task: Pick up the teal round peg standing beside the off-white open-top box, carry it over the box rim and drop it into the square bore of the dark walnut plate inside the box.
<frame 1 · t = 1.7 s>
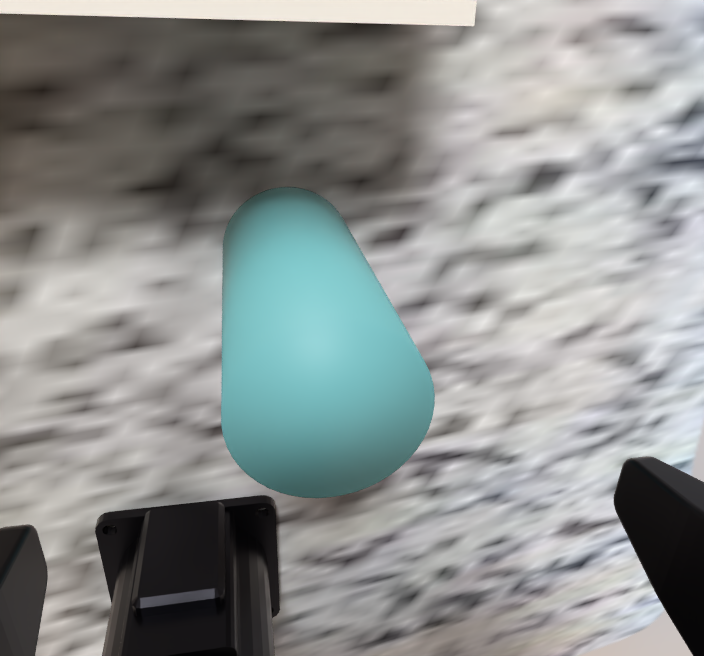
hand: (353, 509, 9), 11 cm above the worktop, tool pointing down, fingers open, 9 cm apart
peg: (287, 250, 19), on the worktop
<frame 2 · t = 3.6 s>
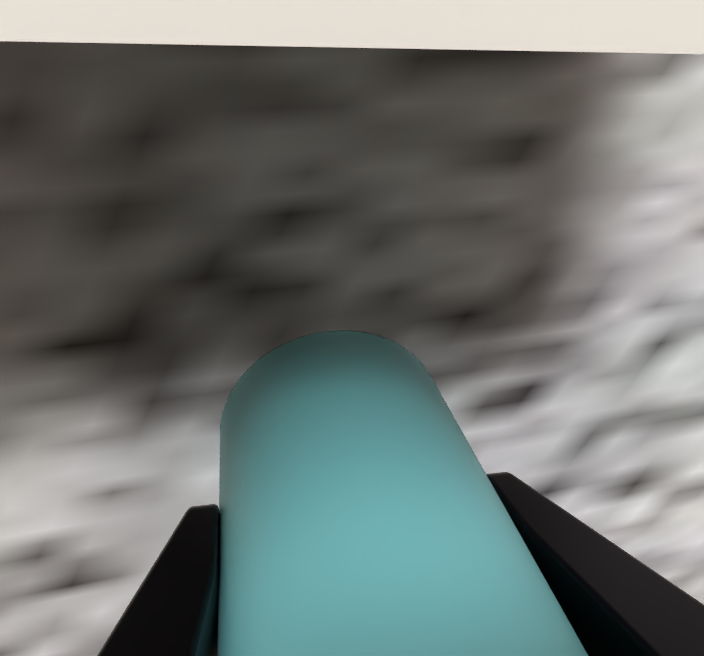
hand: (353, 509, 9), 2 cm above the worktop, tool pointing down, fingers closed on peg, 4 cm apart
peg: (333, 428, 11), on the worktop, touching gripper
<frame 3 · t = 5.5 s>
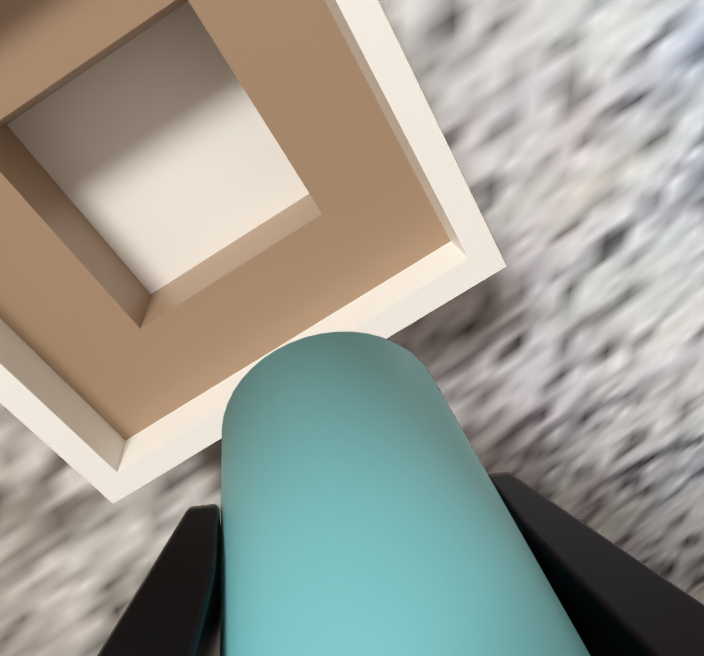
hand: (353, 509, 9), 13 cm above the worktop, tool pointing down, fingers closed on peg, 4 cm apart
peg: (334, 429, 11), point 11 cm above the worktop, touching gripper
peg box: (171, 154, 18), on the worktop
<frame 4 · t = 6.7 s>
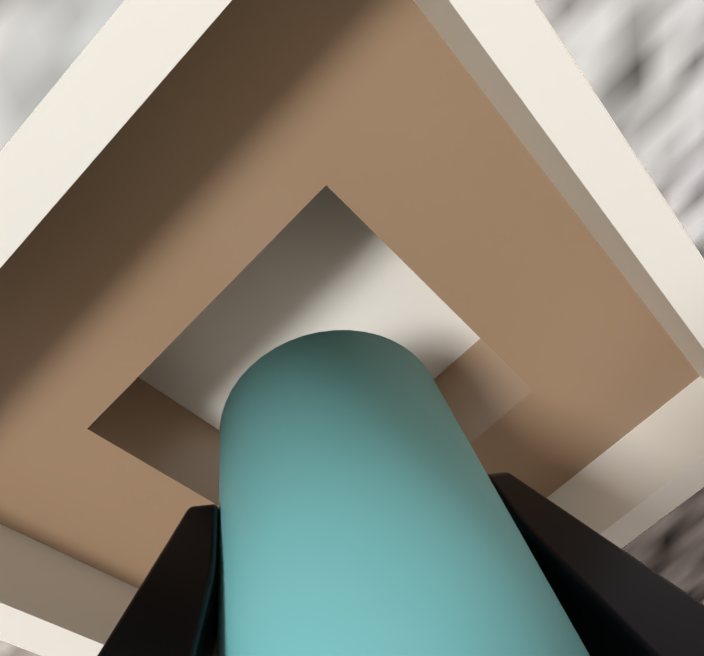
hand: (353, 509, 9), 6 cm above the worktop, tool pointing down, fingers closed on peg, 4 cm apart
peg: (333, 428, 11), point 4 cm above the worktop, touching gripper
peg box: (303, 325, 15), on the worktop
when the fingers open (4 cm above the worktop, at t = 7.7 s): peg drops 1 cm, resting on peg box.
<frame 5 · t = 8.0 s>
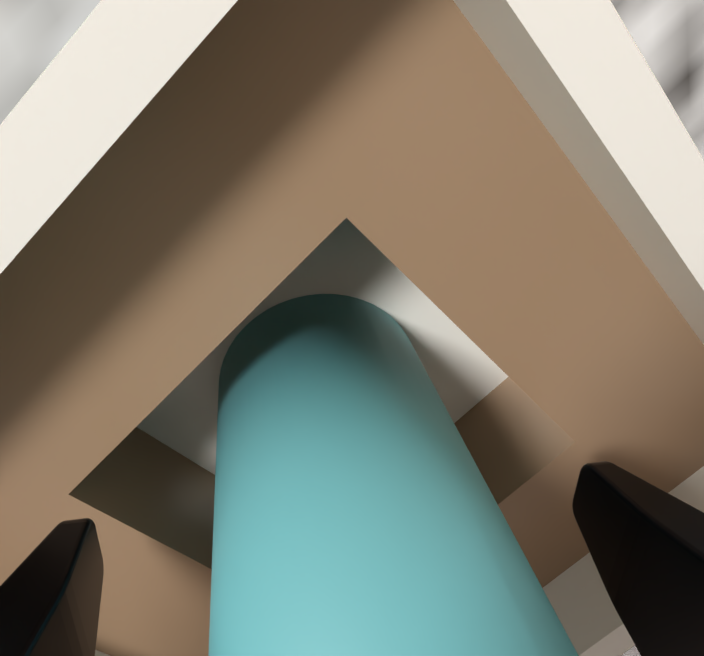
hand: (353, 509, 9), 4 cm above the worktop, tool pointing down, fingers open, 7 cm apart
peg: (320, 384, 12), point 1 cm above the worktop, touching peg box
peg box: (313, 360, 13), on the worktop
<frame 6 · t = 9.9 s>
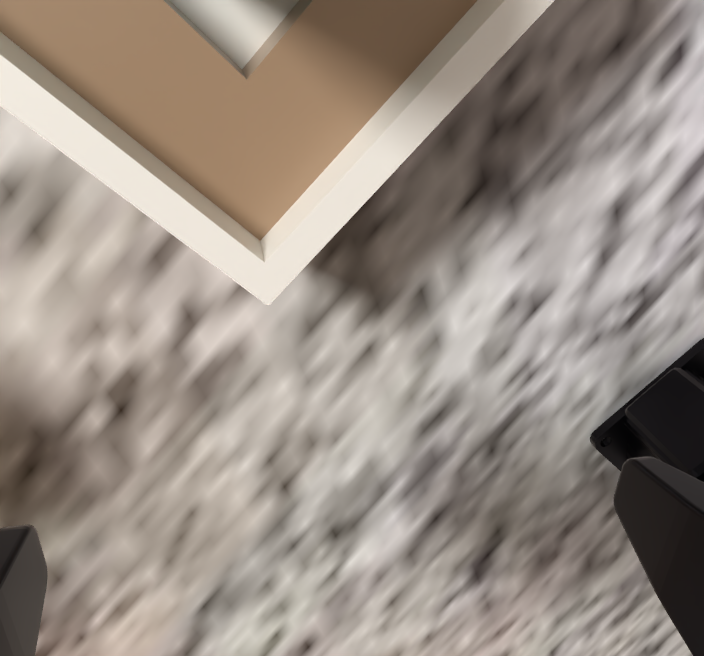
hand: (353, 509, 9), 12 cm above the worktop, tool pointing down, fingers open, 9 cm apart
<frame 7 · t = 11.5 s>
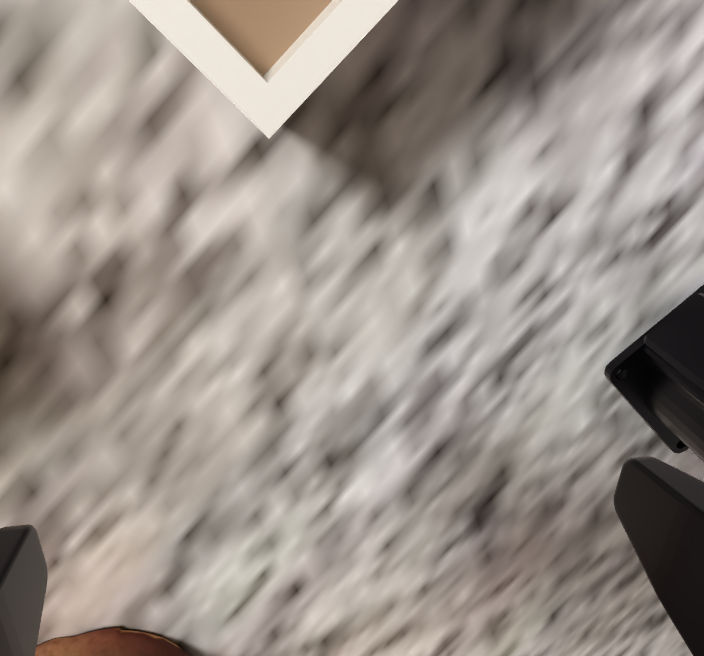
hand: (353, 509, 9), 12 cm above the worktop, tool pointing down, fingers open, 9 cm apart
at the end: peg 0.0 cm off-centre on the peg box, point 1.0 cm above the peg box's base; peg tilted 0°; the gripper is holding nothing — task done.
